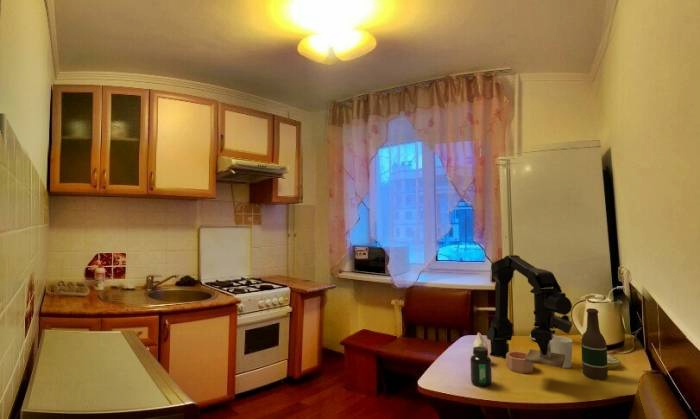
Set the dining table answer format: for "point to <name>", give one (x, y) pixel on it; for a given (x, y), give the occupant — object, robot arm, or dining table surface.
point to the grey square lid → (546, 358)
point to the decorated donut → (613, 362)
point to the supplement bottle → (481, 368)
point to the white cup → (562, 349)
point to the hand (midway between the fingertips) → (545, 353)
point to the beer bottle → (594, 349)
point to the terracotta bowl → (518, 362)
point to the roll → (480, 342)
